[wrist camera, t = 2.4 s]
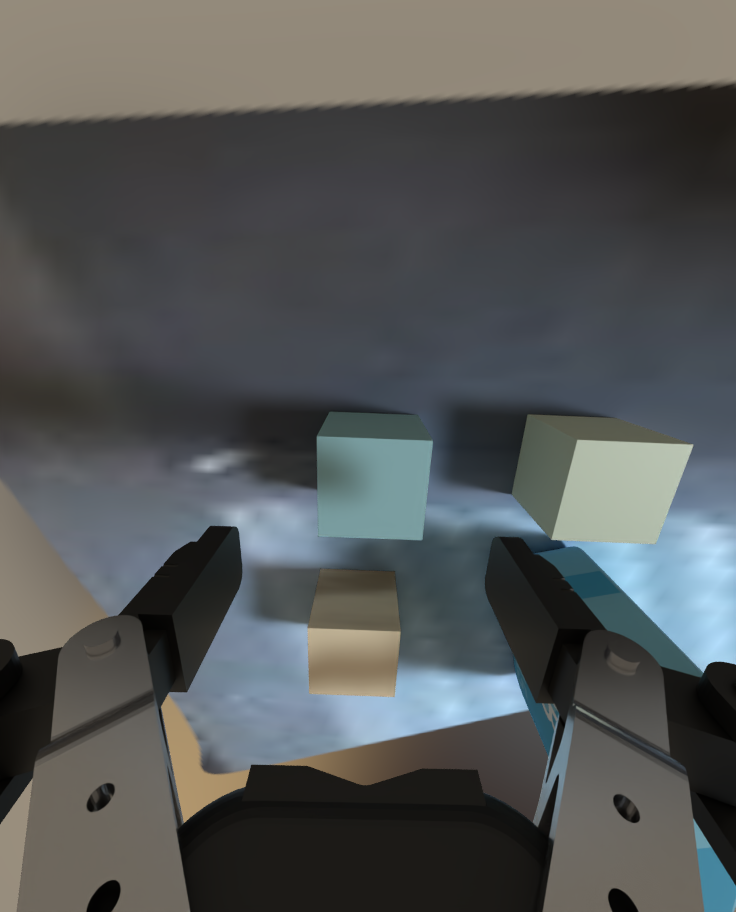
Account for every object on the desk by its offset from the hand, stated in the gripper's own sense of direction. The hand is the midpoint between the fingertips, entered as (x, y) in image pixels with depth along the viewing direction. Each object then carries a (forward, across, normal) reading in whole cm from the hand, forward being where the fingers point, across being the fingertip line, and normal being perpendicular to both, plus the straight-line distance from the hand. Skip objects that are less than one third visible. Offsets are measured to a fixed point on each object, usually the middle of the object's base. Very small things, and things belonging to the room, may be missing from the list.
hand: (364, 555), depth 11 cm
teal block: (+10, 0, 0) cm, 10 cm away
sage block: (+10, -12, 0) cm, 15 cm away
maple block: (+10, 0, +11) cm, 15 cm away
